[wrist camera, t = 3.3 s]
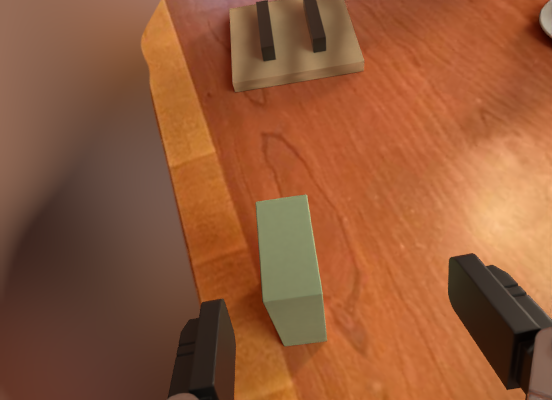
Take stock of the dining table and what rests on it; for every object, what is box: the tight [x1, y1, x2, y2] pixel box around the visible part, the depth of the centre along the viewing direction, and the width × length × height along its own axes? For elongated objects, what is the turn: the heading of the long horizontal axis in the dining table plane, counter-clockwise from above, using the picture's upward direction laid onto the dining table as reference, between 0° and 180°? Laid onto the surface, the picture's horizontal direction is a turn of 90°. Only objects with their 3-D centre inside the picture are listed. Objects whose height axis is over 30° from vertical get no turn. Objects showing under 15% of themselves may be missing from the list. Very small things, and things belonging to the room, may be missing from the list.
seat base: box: [229, 0, 364, 92], centre depth 52 cm, size 16×16×4 cm
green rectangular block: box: [256, 195, 327, 346], centre depth 29 cm, size 4×7×11 cm, turn 5°
